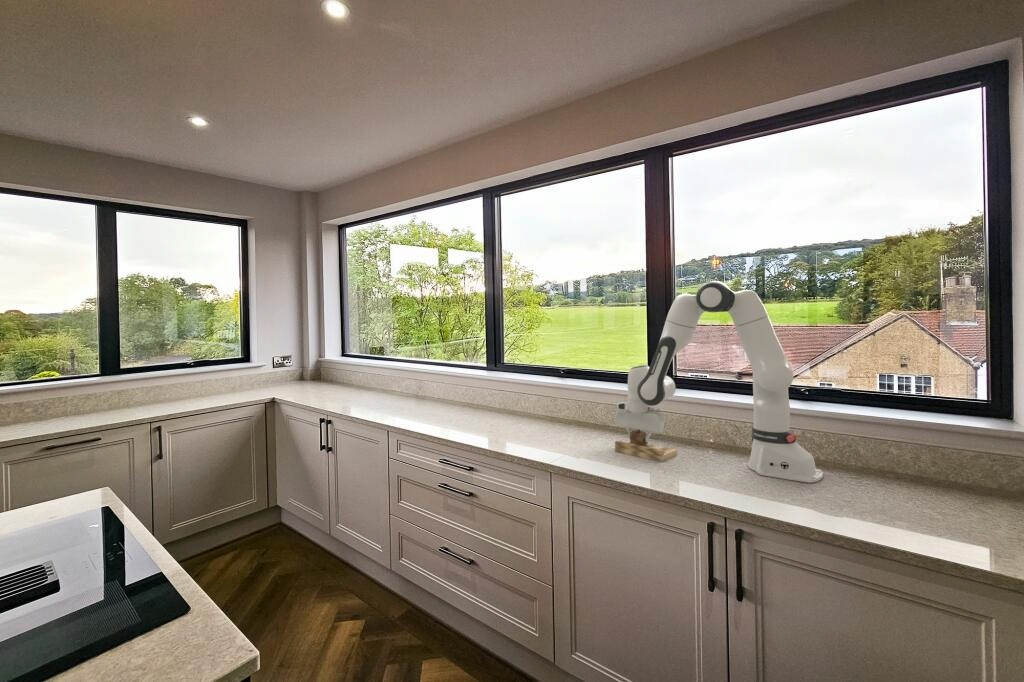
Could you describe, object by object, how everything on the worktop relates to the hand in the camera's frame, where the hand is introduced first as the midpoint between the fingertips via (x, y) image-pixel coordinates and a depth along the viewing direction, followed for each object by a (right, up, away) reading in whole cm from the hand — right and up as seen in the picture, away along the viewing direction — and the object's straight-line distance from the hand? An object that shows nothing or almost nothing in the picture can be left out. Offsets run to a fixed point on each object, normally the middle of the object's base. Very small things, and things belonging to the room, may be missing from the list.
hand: (638, 440), depth 191 cm
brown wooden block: (0, -2, 0) cm, 2 cm away
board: (+2, -4, -4) cm, 6 cm away
